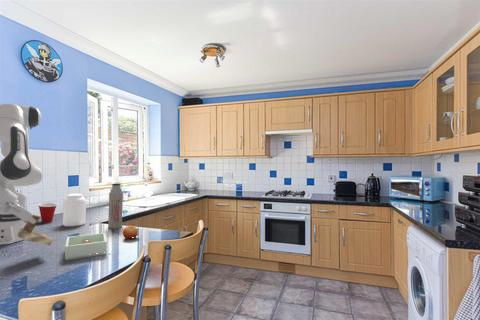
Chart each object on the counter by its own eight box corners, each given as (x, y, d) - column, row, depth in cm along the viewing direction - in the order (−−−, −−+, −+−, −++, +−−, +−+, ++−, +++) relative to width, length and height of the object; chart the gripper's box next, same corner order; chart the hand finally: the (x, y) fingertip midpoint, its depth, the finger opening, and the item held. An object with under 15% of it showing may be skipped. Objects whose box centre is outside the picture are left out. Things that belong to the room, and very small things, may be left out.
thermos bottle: (120, 228, 165) (121, 184, 166) (107, 228, 163) (108, 184, 163) (122, 225, 173) (123, 183, 173) (109, 225, 171) (110, 183, 171)
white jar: (89, 222, 178) (90, 193, 178) (76, 227, 165) (77, 195, 165) (72, 221, 179) (73, 192, 179) (58, 226, 166) (58, 195, 166)
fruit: (131, 232, 152) (135, 221, 149) (137, 242, 147) (141, 231, 145) (117, 235, 146) (121, 224, 143) (123, 245, 141) (127, 234, 139)
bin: (64, 260, 112) (65, 246, 112) (67, 249, 126) (67, 236, 126) (106, 254, 120) (106, 241, 120) (104, 244, 134) (104, 232, 134)
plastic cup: (49, 223, 172) (49, 205, 172) (33, 223, 172) (33, 205, 172) (60, 219, 183) (61, 202, 183) (45, 219, 183) (46, 202, 183)
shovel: (21, 239, 107) (35, 215, 111) (16, 235, 113) (30, 213, 116) (49, 245, 115) (61, 223, 118) (44, 241, 120) (55, 220, 124)
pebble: (90, 247, 128) (85, 247, 129) (92, 240, 129) (87, 241, 130) (84, 245, 125) (79, 245, 126) (87, 238, 127) (82, 239, 128)
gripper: (17, 198, 101) (46, 219, 109) (6, 193, 114) (33, 212, 122) (1, 211, 98) (33, 232, 105) (-8, 204, 111) (21, 223, 118)
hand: (33, 221), depth 114 cm, fingers closed on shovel, 3 cm apart
